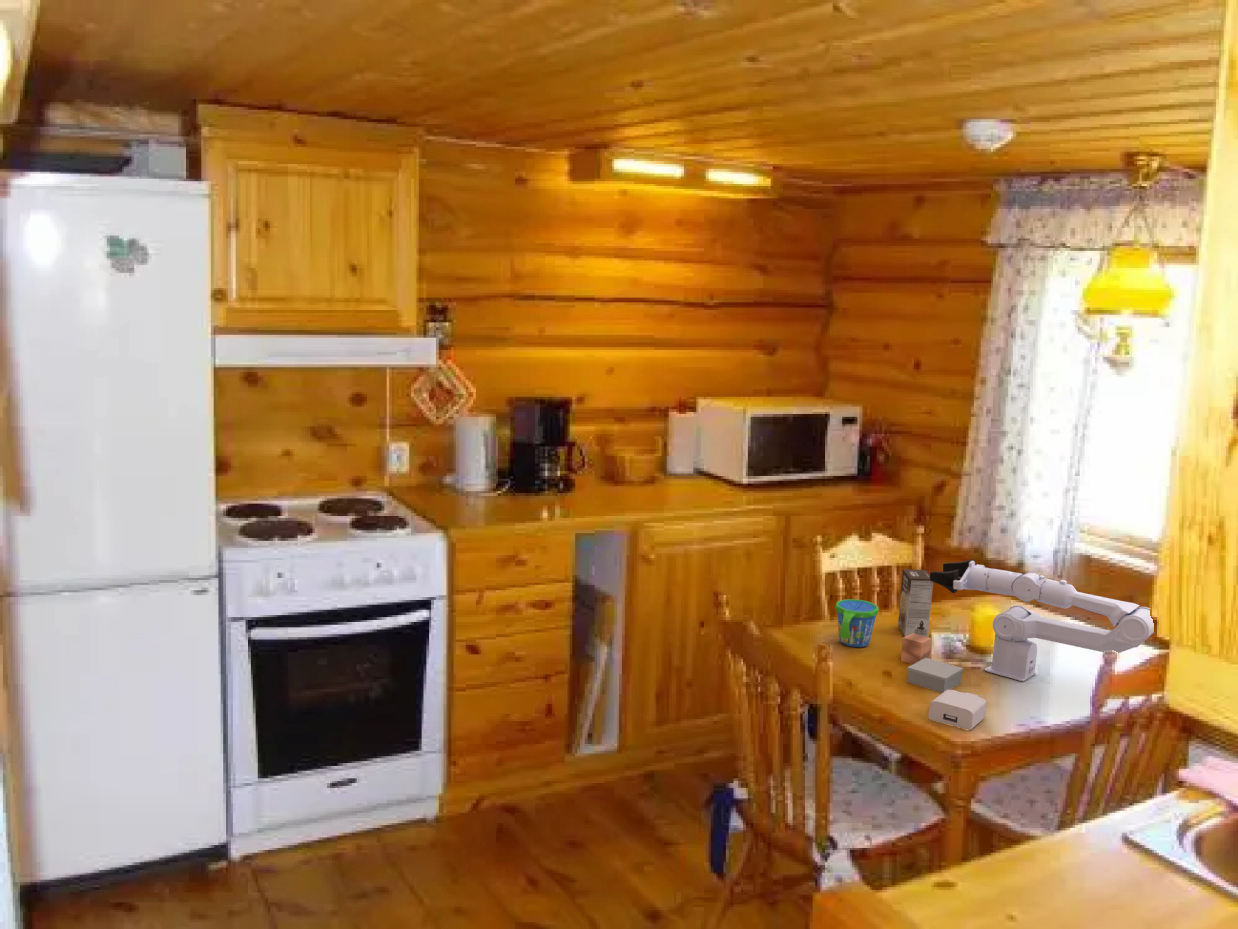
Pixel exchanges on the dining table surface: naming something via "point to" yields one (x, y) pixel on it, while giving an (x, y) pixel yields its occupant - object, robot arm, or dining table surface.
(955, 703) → the charger
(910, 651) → the terracotta block
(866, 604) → the snack cup
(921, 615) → the coffee box
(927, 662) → the slate box
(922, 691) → the dining table surface
